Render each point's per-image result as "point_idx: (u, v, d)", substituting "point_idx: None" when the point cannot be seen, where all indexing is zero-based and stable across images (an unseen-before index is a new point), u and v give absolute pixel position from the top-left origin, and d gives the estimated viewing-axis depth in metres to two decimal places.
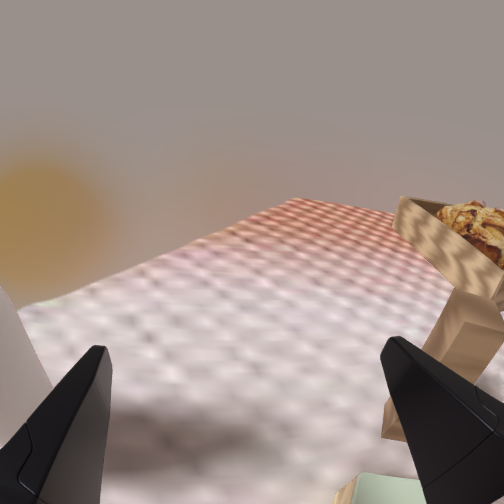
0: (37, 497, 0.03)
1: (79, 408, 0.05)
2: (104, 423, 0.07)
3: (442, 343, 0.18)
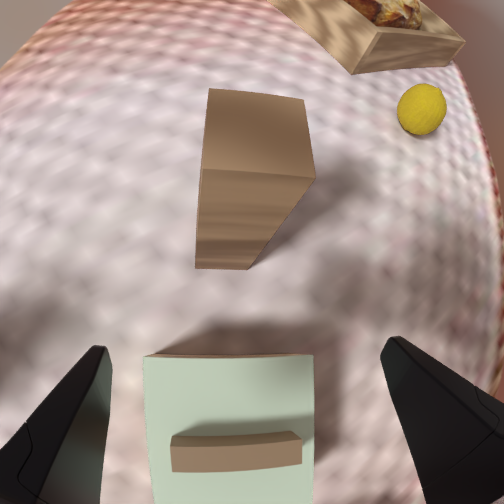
0: (37, 497, 0.03)
1: (79, 408, 0.05)
2: (104, 423, 0.07)
3: None
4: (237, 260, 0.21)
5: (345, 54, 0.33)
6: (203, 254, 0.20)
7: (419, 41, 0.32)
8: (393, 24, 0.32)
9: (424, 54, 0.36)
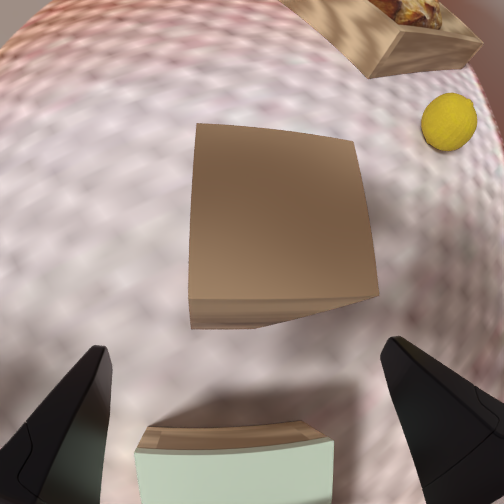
0: (37, 497, 0.03)
1: (79, 408, 0.05)
2: (104, 423, 0.07)
3: None
4: (242, 327, 0.17)
5: (361, 55, 0.28)
6: (199, 326, 0.15)
7: (440, 42, 0.27)
8: (413, 25, 0.27)
9: (443, 56, 0.31)
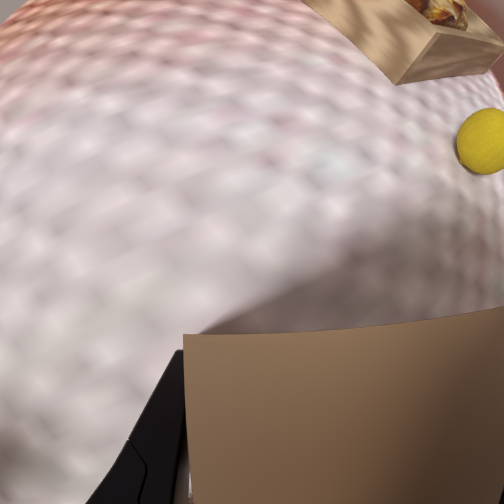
0: None
1: (185, 416, 0.06)
2: None
3: None
4: None
5: (388, 57, 0.23)
6: None
7: (471, 46, 0.22)
8: (441, 25, 0.22)
9: (470, 61, 0.26)
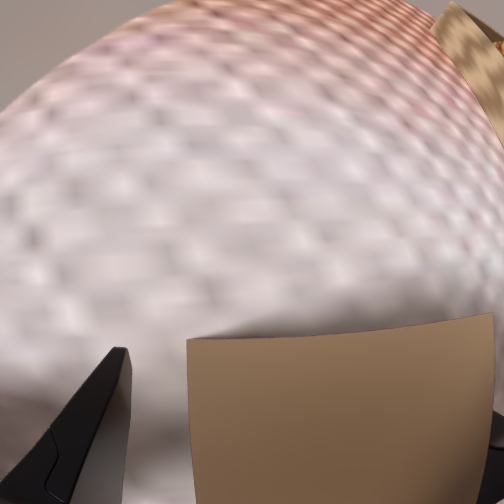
0: None
1: (105, 411, 0.05)
2: (125, 425, 0.07)
3: None
4: None
5: None
6: None
7: None
8: None
9: None
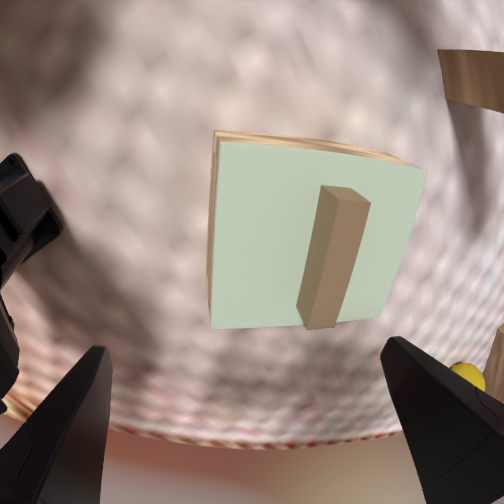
0: (37, 496, 0.03)
1: (79, 408, 0.05)
2: (104, 423, 0.07)
3: None
4: (468, 89, 0.15)
5: None
6: (476, 56, 0.12)
7: None
8: None
9: (490, 389, 0.41)
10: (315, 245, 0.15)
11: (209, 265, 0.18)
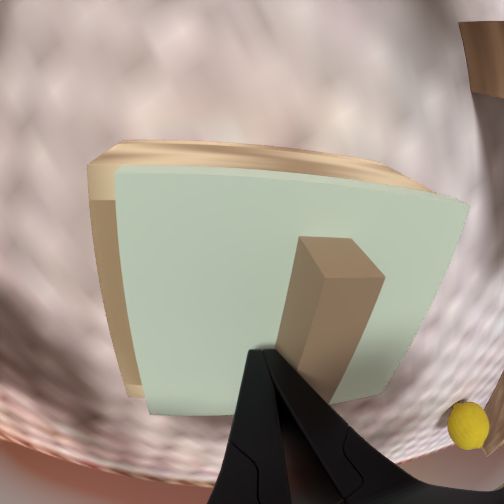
0: None
1: (277, 412, 0.06)
2: None
3: None
4: (503, 76, 0.09)
5: None
6: None
7: None
8: None
9: (493, 420, 0.35)
10: (287, 332, 0.09)
11: None
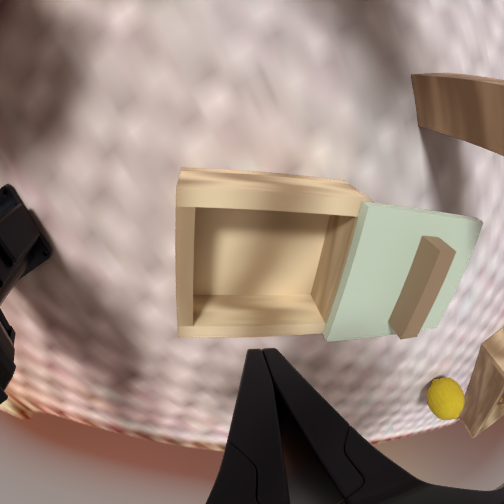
0: None
1: (276, 412, 0.06)
2: None
3: None
4: (438, 116, 0.16)
5: (497, 343, 0.35)
6: (447, 84, 0.14)
7: (487, 403, 0.37)
8: None
9: (475, 401, 0.42)
10: (413, 278, 0.18)
11: None
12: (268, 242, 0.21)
